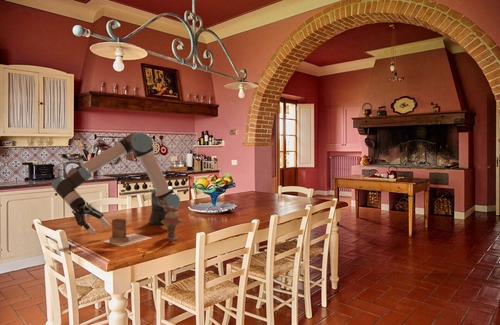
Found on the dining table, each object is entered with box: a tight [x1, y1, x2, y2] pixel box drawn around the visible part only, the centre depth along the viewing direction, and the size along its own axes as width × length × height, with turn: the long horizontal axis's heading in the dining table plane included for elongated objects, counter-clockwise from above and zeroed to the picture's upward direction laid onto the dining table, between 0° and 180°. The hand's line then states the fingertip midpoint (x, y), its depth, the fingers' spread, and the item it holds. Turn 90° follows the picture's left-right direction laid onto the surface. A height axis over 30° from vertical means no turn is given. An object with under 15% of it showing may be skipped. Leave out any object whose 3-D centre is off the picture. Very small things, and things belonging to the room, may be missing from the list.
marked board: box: [103, 233, 152, 247], centre depth 190 cm, size 20×16×1 cm
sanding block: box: [108, 218, 129, 243], centre depth 186 cm, size 4×9×12 cm, turn 81°
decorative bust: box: [160, 198, 183, 242], centre depth 195 cm, size 11×13×25 cm
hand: (101, 229), depth 187 cm, fingers open, 13 cm apart
